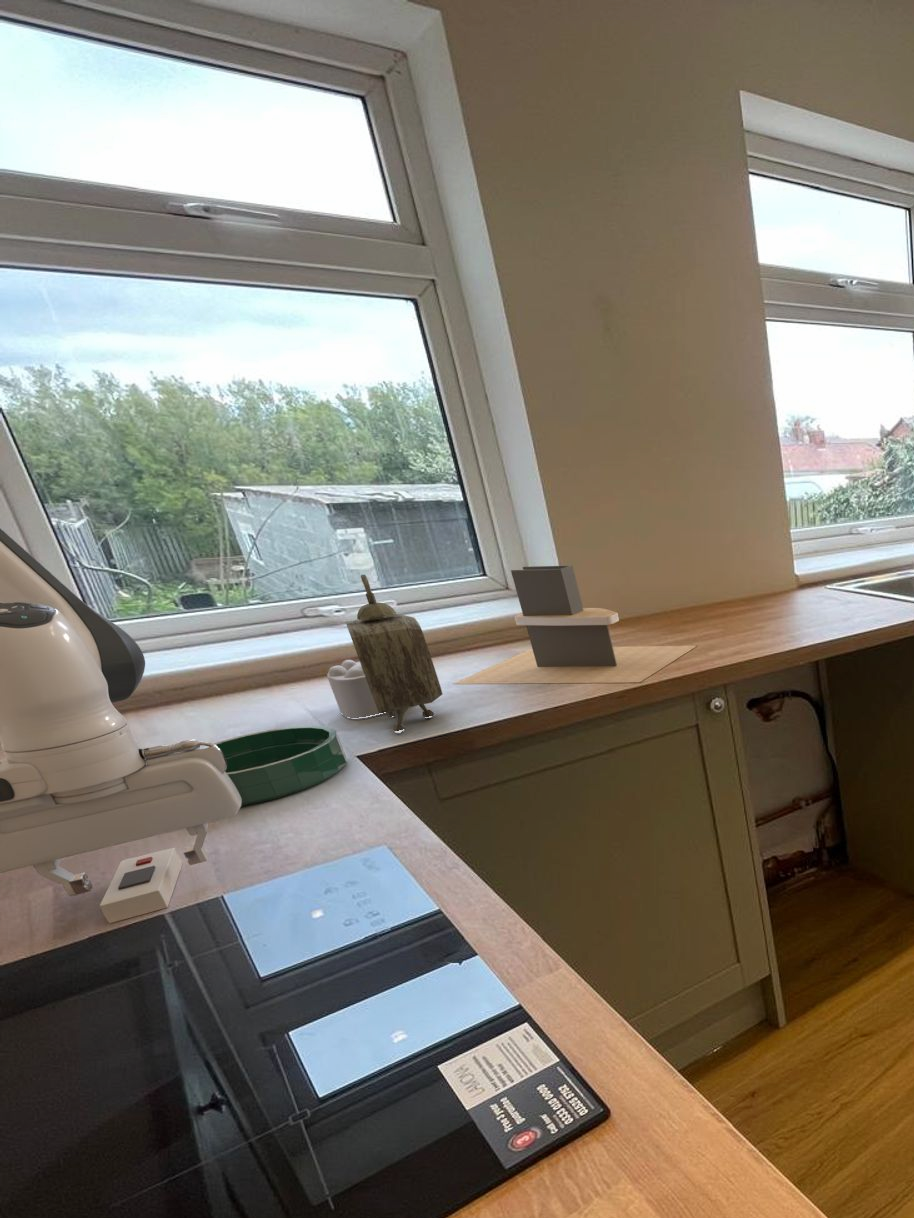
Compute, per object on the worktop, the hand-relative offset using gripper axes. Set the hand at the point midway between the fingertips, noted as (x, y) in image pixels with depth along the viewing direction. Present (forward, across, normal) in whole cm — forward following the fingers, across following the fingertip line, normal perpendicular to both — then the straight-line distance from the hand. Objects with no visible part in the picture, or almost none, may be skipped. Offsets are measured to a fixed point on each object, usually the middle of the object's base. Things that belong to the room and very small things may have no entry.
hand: (142, 876), depth 89 cm
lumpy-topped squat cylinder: (+2, -23, -60) cm, 64 cm away
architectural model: (+2, -58, -62) cm, 85 cm away
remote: (+2, 0, 0) cm, 2 cm away
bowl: (+2, -9, -30) cm, 31 cm away
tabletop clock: (+2, -28, -45) cm, 53 cm away
